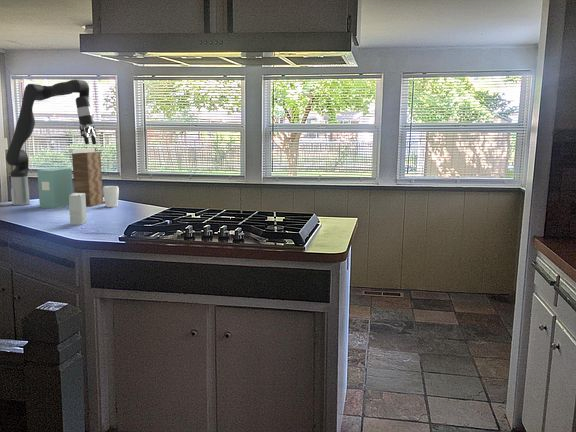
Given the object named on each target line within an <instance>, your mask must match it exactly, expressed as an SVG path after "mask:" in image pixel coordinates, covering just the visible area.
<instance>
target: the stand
mask: <svg viewBox="0 0 576 432" xmlns="http://www.w3.org/2000/svg"><path fill="white" fill-rule="evenodd" d="M101 157H102V154H101V151H95V152H87V153H74V154H71V159H72V160H71V161H72V178H73V193H85V196H86V208H87V207H88V208H91V207H96V206H101V205H106V204H105V200H104V194H103V178H102V177H103V175H102V158H101Z"/></svg>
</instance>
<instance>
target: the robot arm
mask: <svg viewBox="0 0 576 432" xmlns="http://www.w3.org/2000/svg"><path fill="white" fill-rule="evenodd" d="M73 93H77V94H79V95H78V96H79V97H76V98H75V105H76V109H77V116H78V122H79V131H80V136H81V137H82V138H83V140H84V144H85V145H89V144H90V140H89V136H90V139H91V144H92V145H96V144H97V138H96V137H97V136H98V134H97V129H96V126H95V125H92V124H94V117H93V113H92V109H91V105H90V99H89V98H90V85H89V84H88V82H87V81H86V80H82V79H71V80H68V81H62V82H57V83H55V84H53V85H41V84H37V83H28V84H27V85H26V86H25V87H24V91H23V96H22V101H21V106H20V111H19V116H18V118H17V122H16V125H15V129H14V133H13V134H12V135H13V136H12V139H11V142H10V144H9V147H8V148H7V152H6V155H5V160H6V163H7V164H8V165H9V166H15V168H14V169H13V170H12V171H10V184H11V189H10V197H11V204H12V205H13V206H25V205H26V206H27V205H30V203H31V202H30V190H29V189H30V188H29V177H28V176H29V175H28V174H29V169H30V167H29V156H28V153H27V152H26V151H25V150H23V149H22V148H23V145H24V144H25V142H27V140H28V139H29V138H30V137H31V136H32V135H33V131H34V129H35V125H36V120H35V115H34V112H33V107H34V103H35V101H37V102H39V101H45V100H48V99H50V98H54V97H60V96H65V95H71V94H73Z"/></svg>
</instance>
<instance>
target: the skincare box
mask: <svg viewBox="0 0 576 432" xmlns="http://www.w3.org/2000/svg"><path fill="white" fill-rule="evenodd" d="M68 206H69V224H70V226H83V225H84V224H85V223H87V207H86V196H85V193H74V192H73V194H71V195H69V205H68Z"/></svg>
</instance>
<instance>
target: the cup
mask: <svg viewBox="0 0 576 432" xmlns="http://www.w3.org/2000/svg"><path fill="white" fill-rule="evenodd" d="M102 191H103V200H104V201H105V204H104V205H105V207H106V208H116V207H118V206H119V205H118V203H119V195H120V190H119V186H118V185H104V186H102Z"/></svg>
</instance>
